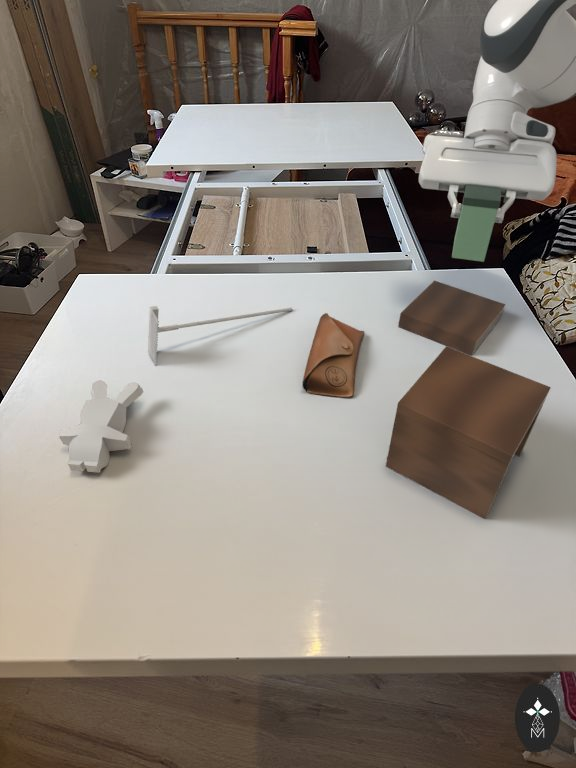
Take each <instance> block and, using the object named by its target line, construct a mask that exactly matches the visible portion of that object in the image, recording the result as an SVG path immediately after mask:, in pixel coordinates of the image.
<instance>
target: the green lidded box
mask: <svg viewBox="0 0 576 768" xmlns="http://www.w3.org/2000/svg"><path fill="white" fill-rule="evenodd" d="M501 201H502V197H501V188H499V187H489V186H479V185H469V184H466V185H465V191H464V193H463V198H462V203H461V204H463V205H462V210H461V215H460V218H458V220H457V226H456V230H455V235H454V241H453V246H452V253H451V258H452V259H460V260H468V261H475V262H482V263H484V262H485V259H486V256H487V251H488V248H489V244H490V240H491V236H492V233H493V228H494V225H495V223H496V222H495V218H496V214H497V210H498V209H499V208H500V206H501Z"/></svg>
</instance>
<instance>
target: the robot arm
mask: <svg viewBox="0 0 576 768" xmlns="http://www.w3.org/2000/svg"><path fill="white" fill-rule="evenodd" d="M575 5H576V0H495V1H494V2H493V3H492V4H491V6H490V7H489V9H488V11H487V12H486V14H485V16H484V18H483V21H482V25H481V30H480V36H479V47H480V58H479V62H478V63H477V67H476V72H475V75H474V76H475V77H474V80H473V86H472V96H473V99H472V103H471V105H470V107H469V110H468V111H467V116H466V117H467V118H466V121H465V127H464V130H463V131H460V130H444V129H436V130H435V131H433V132H430V133H427V135H426V136H425V137H424V140H423V144H422V153H423V159H422V162H421V165H420V169H419V173H418V183H419V185H420V187H421V188H422V189H425V190H436V191H447V192H448V193H447V199H448V201H449V204H450V207H451V208H452V209H451V214H450V218H451V219H452V218H453V219H459V218H460V215H461V210H462V205H463V204H462V203H459V202H458V199H457V197H458V193H463V194H464V191H465V185H466V184H469V185H479V186H489V187H499V188H501V198H502V197H503V205H502V206H501V207H499V209H498V210H497V214H496V218H495V222H494V223H497V224H503V222H504V217H505V213H506V212H507V211H508V209H510V207H511V206H512V205H513V204H514V202H515V199H521V200H531V201H544V200H546V199H547V198H548V197H549V196H550V195H551V194H552V192H553V190H554V187H555V184H556V176H557V162H558V161H557V160H558V159H557V158H558V157H557V156H558V155H557V151H556V149H555V146H553V143H554V141H555V140H554V139H555V136H556V128H555V126H553V125H551V124H549V123H546V122H544V121H541V120H538V119H536V118H534V117H532V116H530V115H527V114H528V111H529V110H531V109H534V110H535V109H542V108H547V107H550V106H554V105H559V104H560V103H564V102H566V101H569V100H571V99H573V98H574V97H575V96H576V19H575V18H574V17H573V16H572V15H571V14H570V13H569V12H568V11H567V10H568V9H570V8H571V7H573V6H575Z"/></svg>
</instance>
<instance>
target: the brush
mask: <svg viewBox="0 0 576 768" xmlns="http://www.w3.org/2000/svg"><path fill="white" fill-rule="evenodd" d="M148 311H149V313H148V315H149V316H148V334H147V335H148V339H147V354H148V356H149V357H150V359H151V362H152V363H153V365H154V366H157V361H158V360H157V359H158V357H157V356H158V345H159V342H158V341H159V333H163V332H164V333H165V332H170V331H178V330H179V329H184V328H190V327H197V326H203V325H211V324H215V323H223V322H230V321H234V320H235V321H236V320H242V319H249V318H253V317H254V318H255V317H260V316H261V317H262V316H267V315H274V314H281V313H287V312H293V308H292V307H285V308H279V309H273V310H267V311H259V312H253V313H246V314H240V315H239V314H238V315H233V316H227V317H226V316H225V317H220V318H213V319H208V320H207V319H206V320H200V321H195V322H194V321H193V322H187V323H180V324H171V325H163V326H159V323H160V321H159V312H160V311H159V307H158V306H157V305H154V306H153V305H152V306H149V310H148Z"/></svg>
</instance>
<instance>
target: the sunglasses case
mask: <svg viewBox="0 0 576 768" xmlns="http://www.w3.org/2000/svg"><path fill="white" fill-rule="evenodd" d="M364 336H365V330H359V329H357V328H355V327H353V326H351V325H349V324H346V323H344V322H342V321H340V320H338V319H336V318H335V317H332V316H330V314H329V313H327V312H325V313H323V314H322V315H321V316H320V318H319V321H318V324H317V326H316V329H315V333H314V337H313V340H312V344H311V347H310V350H309V355H308V358H307V362H306V366H305V370H304V373H303V379H302V382H301V383H302V388H303V390H304V391H305V392H306V393H308V394H310V395H311V394H312V395H317V396H321V397H330V398H345V399H346V398H352V397H354V394H355V384H356V383H355V382H356V381H355V380H356V379H355V378H356V370H357V364H358V360H359V359H358V358H359V353H360V349H361V345H362V342H363V339H364Z"/></svg>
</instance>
